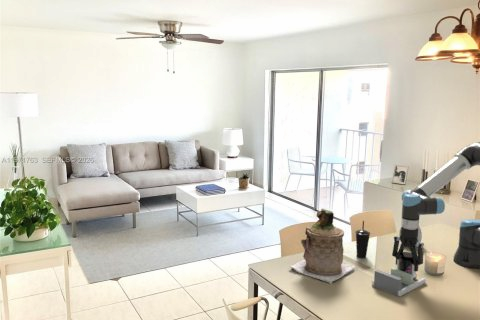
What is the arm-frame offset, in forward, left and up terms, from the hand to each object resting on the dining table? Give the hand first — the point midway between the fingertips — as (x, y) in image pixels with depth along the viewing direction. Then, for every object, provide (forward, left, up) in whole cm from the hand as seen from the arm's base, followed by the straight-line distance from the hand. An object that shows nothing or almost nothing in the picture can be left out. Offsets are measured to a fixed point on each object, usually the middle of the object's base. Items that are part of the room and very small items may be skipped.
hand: (406, 274), depth 192 cm
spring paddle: (+5, +4, -3) cm, 6 cm away
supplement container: (0, 0, -1) cm, 1 cm away
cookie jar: (+37, -10, -4) cm, 39 cm away
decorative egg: (-20, -49, -4) cm, 53 cm away
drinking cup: (+13, -29, -3) cm, 32 cm away
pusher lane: (+4, +4, -3) cm, 7 cm away
